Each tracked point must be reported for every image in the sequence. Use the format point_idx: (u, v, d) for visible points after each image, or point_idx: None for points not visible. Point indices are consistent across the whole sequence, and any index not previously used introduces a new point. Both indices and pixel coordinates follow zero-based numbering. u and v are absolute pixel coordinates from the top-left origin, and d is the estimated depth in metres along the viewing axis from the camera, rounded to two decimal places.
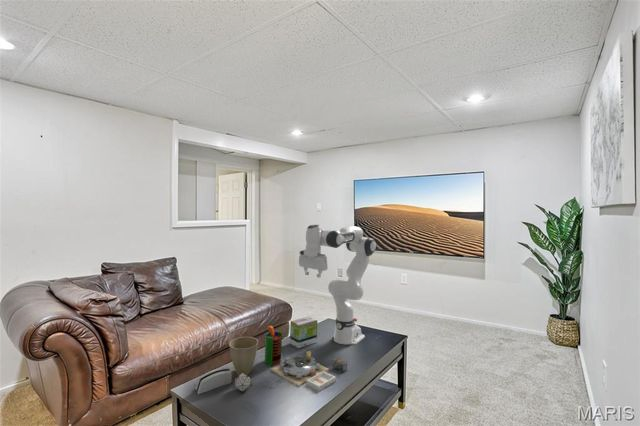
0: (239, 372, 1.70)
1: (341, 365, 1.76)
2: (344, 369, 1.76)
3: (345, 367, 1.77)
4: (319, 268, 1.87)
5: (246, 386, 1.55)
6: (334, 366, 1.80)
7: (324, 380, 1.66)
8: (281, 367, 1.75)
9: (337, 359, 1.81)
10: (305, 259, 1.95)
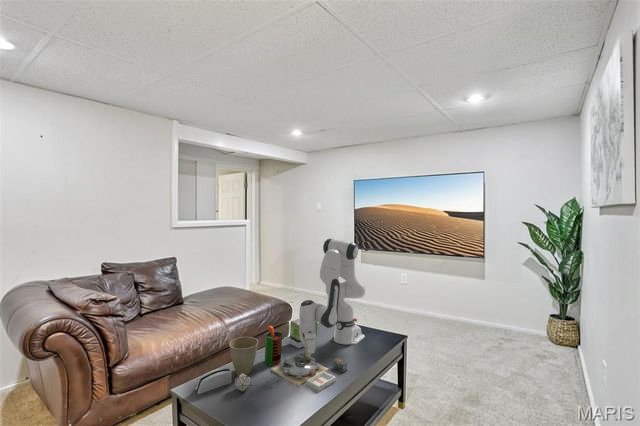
0: (239, 372, 1.70)
1: (341, 365, 1.76)
2: (344, 369, 1.76)
3: (345, 367, 1.77)
4: None
5: (246, 386, 1.55)
6: (334, 366, 1.80)
7: (324, 380, 1.66)
8: (281, 367, 1.75)
9: (337, 359, 1.81)
10: None
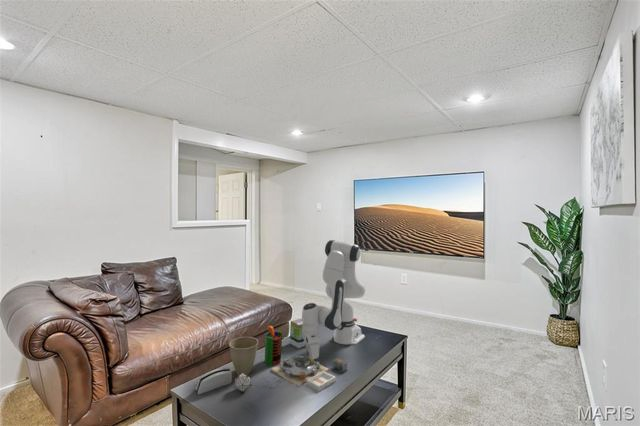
0: (239, 372, 1.70)
1: (341, 365, 1.76)
2: (344, 369, 1.76)
3: (345, 367, 1.77)
4: None
5: (246, 386, 1.55)
6: (334, 366, 1.80)
7: (324, 380, 1.66)
8: None
9: (337, 359, 1.81)
10: None
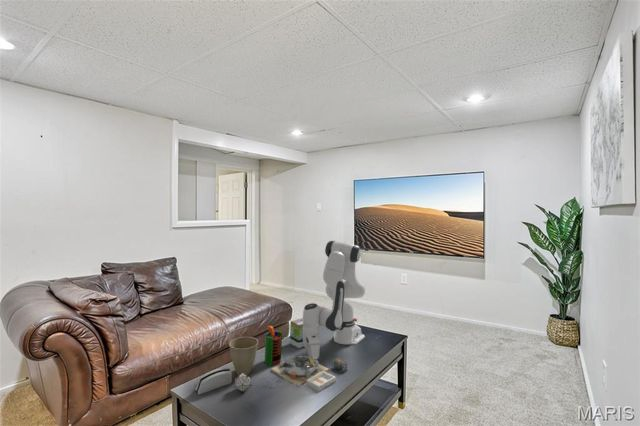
0: (239, 372, 1.70)
1: (340, 365, 1.76)
2: (343, 369, 1.76)
3: (345, 367, 1.77)
4: None
5: (246, 386, 1.55)
6: (334, 366, 1.80)
7: (324, 380, 1.66)
8: (290, 359, 1.84)
9: (337, 359, 1.81)
10: None
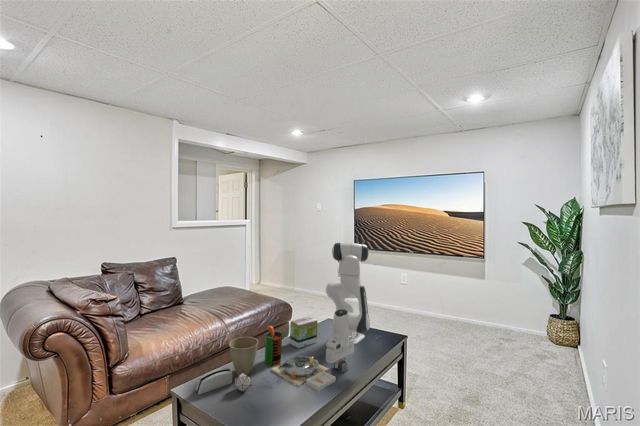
0: (239, 372, 1.70)
1: (340, 365, 1.76)
2: (343, 369, 1.76)
3: (344, 367, 1.77)
4: (350, 352, 1.83)
5: (246, 386, 1.55)
6: (334, 365, 1.80)
7: (324, 380, 1.66)
8: (290, 359, 1.84)
9: None
10: (337, 352, 1.75)
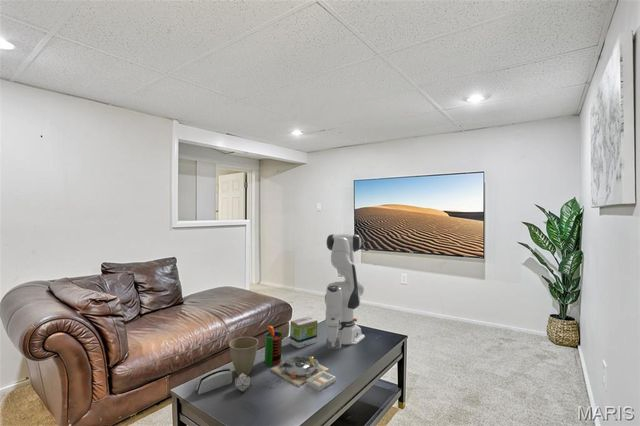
0: (239, 372, 1.70)
1: (337, 342, 1.70)
2: (340, 346, 1.71)
3: (340, 344, 1.72)
4: None
5: (246, 386, 1.55)
6: (328, 346, 1.72)
7: (324, 380, 1.66)
8: (290, 359, 1.84)
9: None
10: None
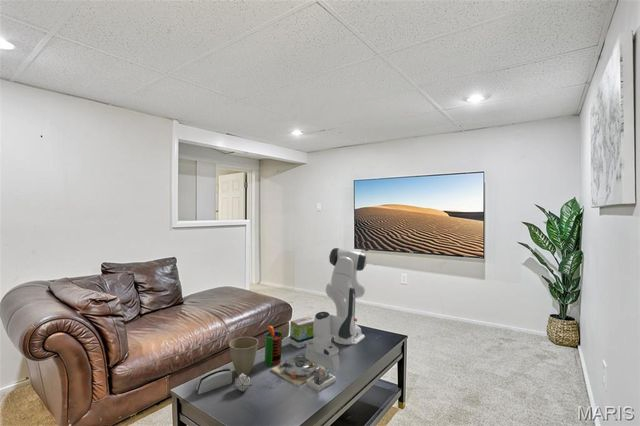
0: (239, 372, 1.70)
1: None
2: None
3: None
4: None
5: (246, 386, 1.55)
6: (320, 383, 1.61)
7: None
8: (290, 359, 1.84)
9: (317, 374, 1.63)
10: None
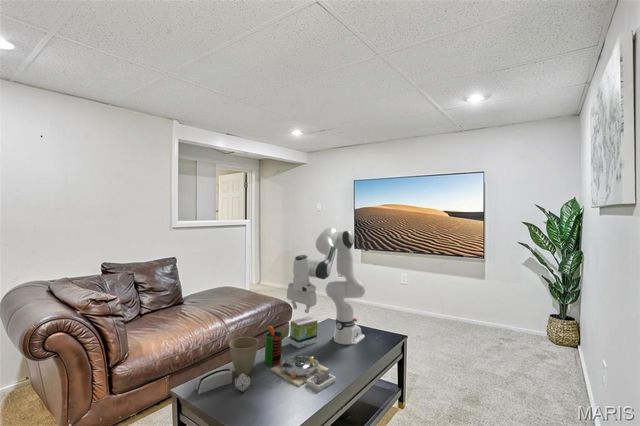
0: (239, 372, 1.70)
1: (327, 374, 1.65)
2: None
3: None
4: None
5: (246, 386, 1.55)
6: (320, 383, 1.61)
7: None
8: (290, 359, 1.84)
9: (318, 374, 1.63)
10: None
